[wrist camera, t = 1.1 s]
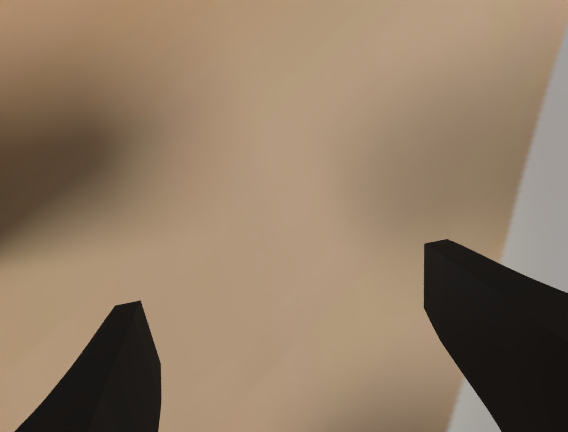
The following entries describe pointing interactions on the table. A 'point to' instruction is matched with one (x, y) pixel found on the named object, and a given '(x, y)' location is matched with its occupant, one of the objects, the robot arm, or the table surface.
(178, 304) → the table surface
